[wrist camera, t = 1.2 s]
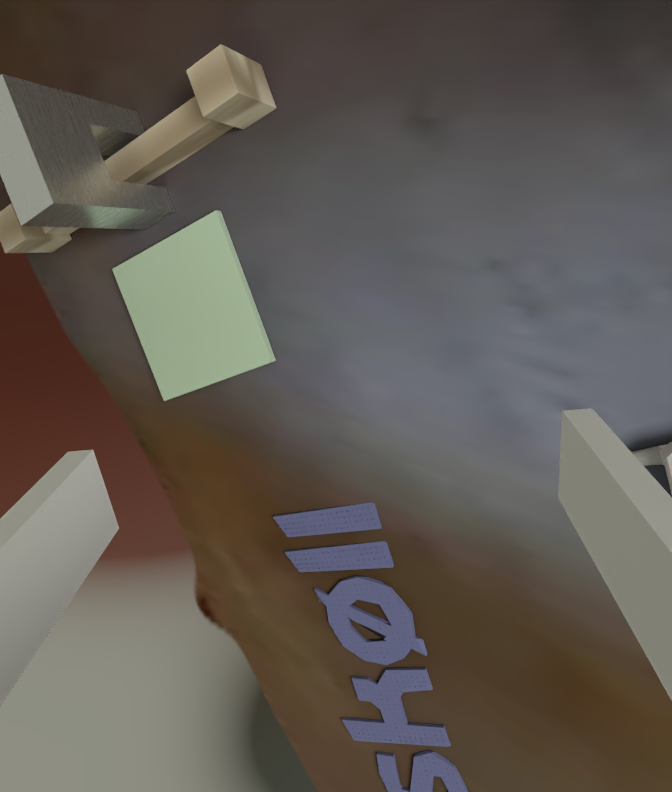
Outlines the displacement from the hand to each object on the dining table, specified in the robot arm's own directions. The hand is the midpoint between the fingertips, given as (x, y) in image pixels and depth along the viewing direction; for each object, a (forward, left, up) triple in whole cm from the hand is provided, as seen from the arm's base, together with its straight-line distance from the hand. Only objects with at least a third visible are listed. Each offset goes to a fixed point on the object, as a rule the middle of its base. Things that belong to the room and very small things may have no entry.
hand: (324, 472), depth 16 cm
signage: (+28, -2, -24) cm, 37 cm away
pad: (+3, -23, -23) cm, 33 cm away
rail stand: (-7, -29, -23) cm, 38 cm away
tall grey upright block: (-7, -29, -23) cm, 38 cm away
